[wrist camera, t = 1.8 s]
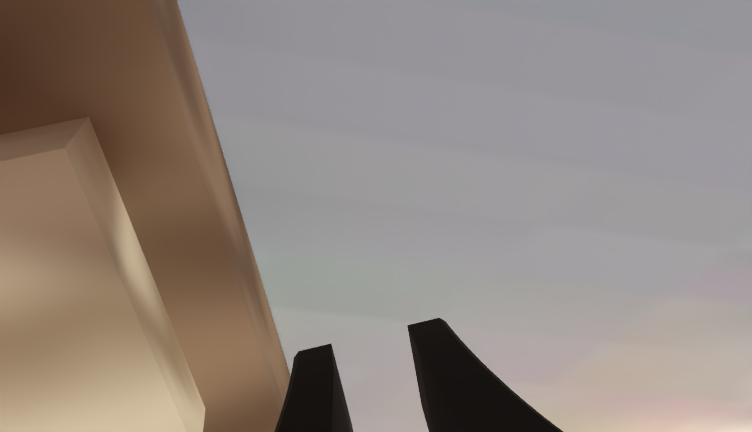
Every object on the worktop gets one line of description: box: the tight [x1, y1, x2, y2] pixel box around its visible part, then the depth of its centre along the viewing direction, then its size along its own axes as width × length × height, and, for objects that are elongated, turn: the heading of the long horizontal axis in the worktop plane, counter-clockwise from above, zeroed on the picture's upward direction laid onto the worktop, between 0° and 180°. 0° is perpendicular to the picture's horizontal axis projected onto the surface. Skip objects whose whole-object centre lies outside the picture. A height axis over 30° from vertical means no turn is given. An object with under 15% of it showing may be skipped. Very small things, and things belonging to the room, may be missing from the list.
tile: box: [0, 117, 205, 432], centre depth 15 cm, size 9×6×2 cm, turn 9°
